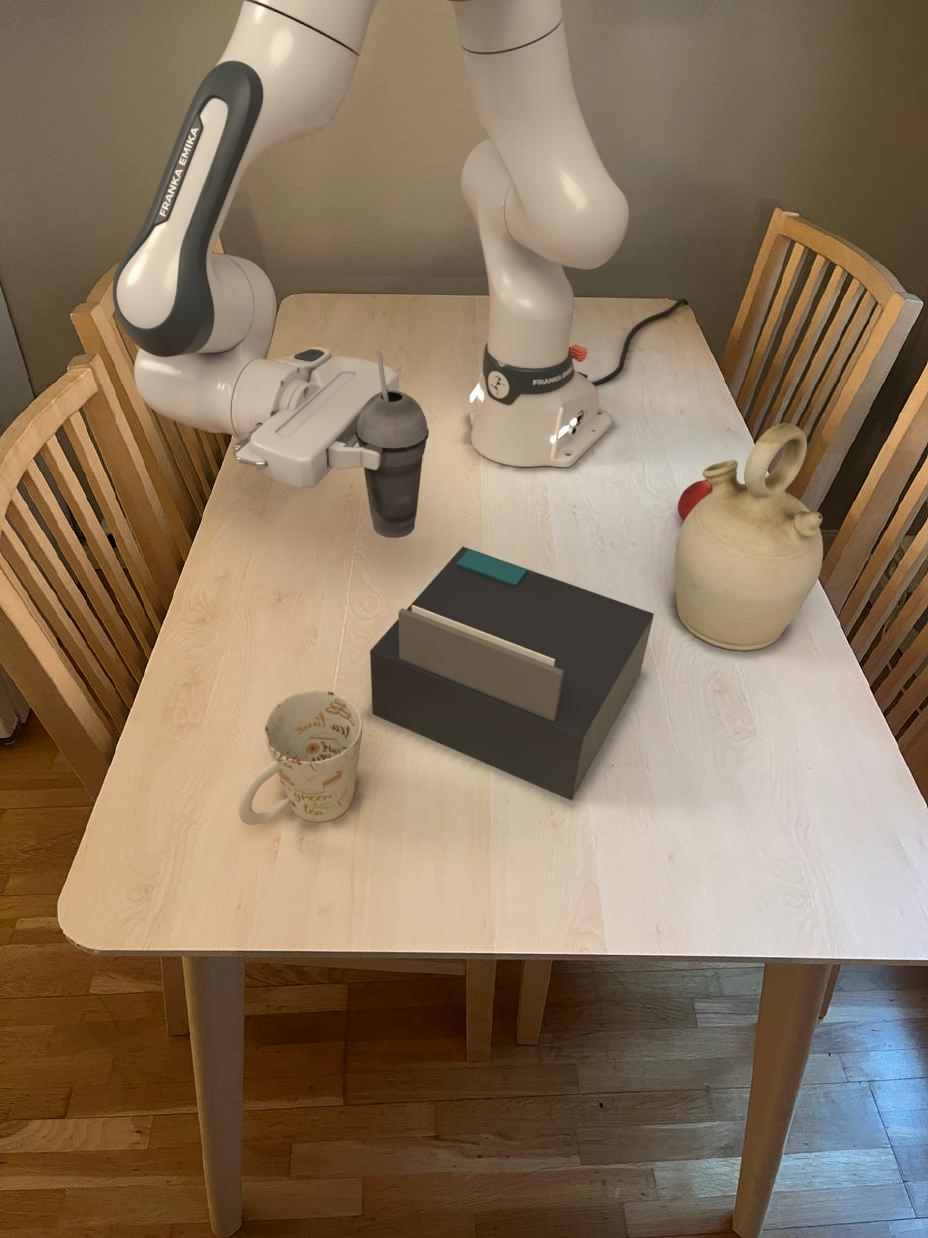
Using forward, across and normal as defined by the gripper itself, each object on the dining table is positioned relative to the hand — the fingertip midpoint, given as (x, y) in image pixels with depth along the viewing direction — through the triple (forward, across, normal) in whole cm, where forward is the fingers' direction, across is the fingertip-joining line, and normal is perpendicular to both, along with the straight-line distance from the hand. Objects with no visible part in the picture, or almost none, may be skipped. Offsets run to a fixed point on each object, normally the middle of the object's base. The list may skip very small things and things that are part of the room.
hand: (400, 438), depth 92 cm
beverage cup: (-1, 0, +11) cm, 11 cm away
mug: (+4, -30, +22) cm, 37 cm away
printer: (+16, -8, +22) cm, 29 cm away
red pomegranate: (+28, +30, +22) cm, 47 cm away
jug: (+35, +14, +22) cm, 44 cm away
